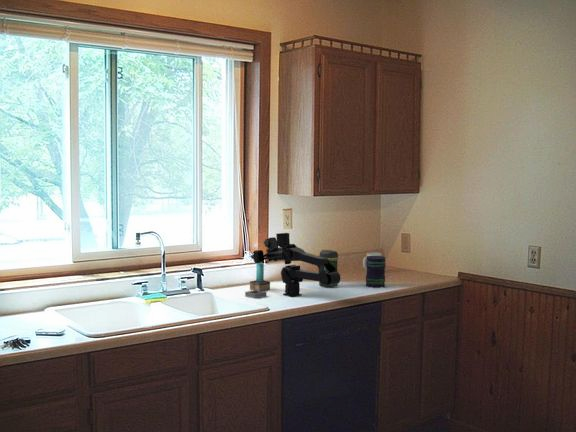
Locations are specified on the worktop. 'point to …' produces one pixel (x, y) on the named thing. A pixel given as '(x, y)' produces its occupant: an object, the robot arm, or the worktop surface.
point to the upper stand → (260, 285)
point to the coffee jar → (333, 259)
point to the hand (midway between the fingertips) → (258, 255)
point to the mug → (370, 255)
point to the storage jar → (375, 271)
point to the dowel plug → (260, 272)
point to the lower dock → (255, 294)
